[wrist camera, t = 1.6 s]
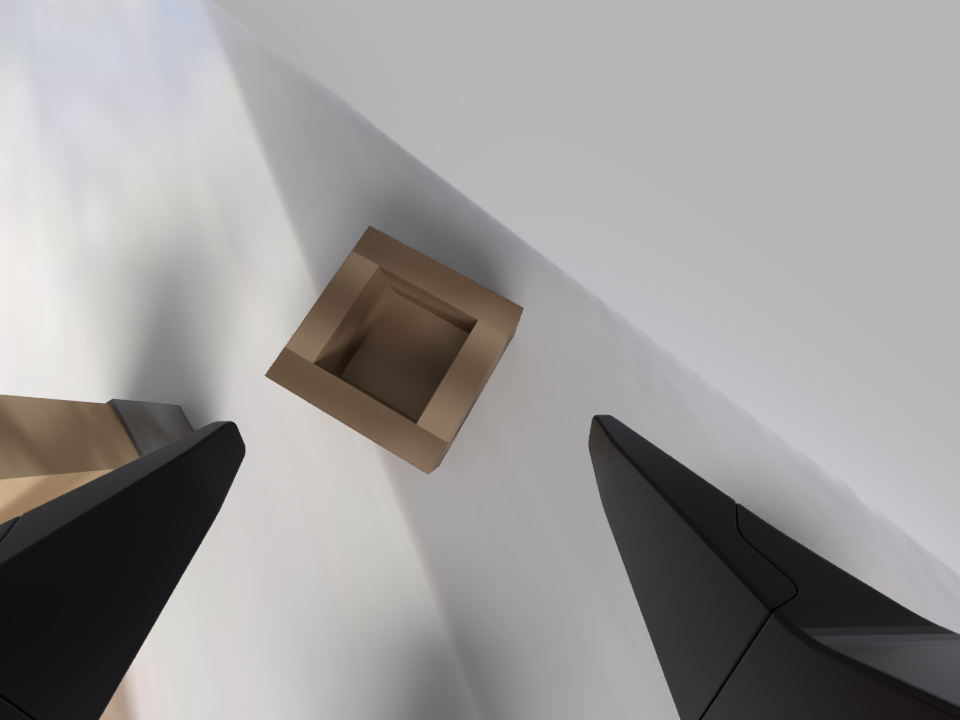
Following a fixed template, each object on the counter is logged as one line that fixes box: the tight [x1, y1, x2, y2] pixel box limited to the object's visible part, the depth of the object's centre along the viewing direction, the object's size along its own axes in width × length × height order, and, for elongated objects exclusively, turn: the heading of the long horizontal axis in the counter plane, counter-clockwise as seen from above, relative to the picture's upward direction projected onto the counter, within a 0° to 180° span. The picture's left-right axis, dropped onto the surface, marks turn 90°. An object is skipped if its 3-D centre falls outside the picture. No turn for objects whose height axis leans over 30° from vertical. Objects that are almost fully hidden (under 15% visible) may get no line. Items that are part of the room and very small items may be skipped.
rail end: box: [0, 395, 194, 524], centre depth 17 cm, size 4×4×13 cm
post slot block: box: [265, 226, 523, 474], centre depth 22 cm, size 10×10×5 cm
